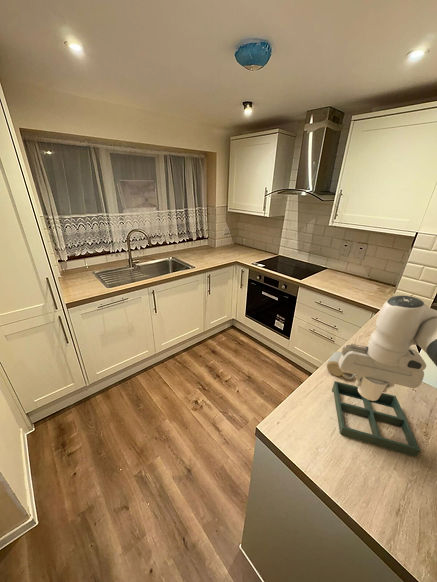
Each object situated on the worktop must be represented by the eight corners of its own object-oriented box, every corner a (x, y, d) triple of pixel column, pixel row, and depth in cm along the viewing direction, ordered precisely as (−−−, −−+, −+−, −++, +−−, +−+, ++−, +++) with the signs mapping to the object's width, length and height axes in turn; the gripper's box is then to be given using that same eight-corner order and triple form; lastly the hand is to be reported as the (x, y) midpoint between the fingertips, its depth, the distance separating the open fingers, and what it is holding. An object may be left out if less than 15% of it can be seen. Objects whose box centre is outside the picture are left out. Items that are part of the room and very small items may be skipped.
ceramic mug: (323, 371, 101) (328, 357, 97) (329, 362, 106) (333, 348, 103) (350, 384, 95) (356, 370, 91) (355, 373, 100) (360, 359, 97)
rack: (391, 404, 86) (395, 395, 84) (414, 460, 68) (420, 450, 66) (331, 389, 92) (334, 380, 90) (338, 437, 74) (342, 427, 72)
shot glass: (360, 381, 76) (366, 364, 73) (384, 394, 71) (392, 377, 69) (351, 391, 72) (358, 374, 69) (376, 406, 67) (384, 388, 64)
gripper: (346, 349, 65) (334, 386, 71) (434, 367, 60) (413, 406, 65) (342, 336, 71) (332, 372, 76) (423, 352, 65) (405, 389, 71)
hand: (370, 387), depth 71 cm, fingers closed on shot glass, 5 cm apart
